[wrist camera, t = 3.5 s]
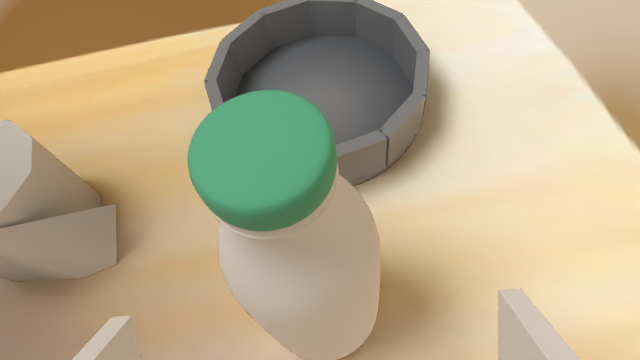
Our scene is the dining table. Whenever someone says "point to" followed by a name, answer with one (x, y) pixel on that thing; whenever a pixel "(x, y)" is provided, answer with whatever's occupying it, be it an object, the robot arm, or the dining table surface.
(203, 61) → the dining table surface
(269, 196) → the milk bottle
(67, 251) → the toilet tissue
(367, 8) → the bowl
